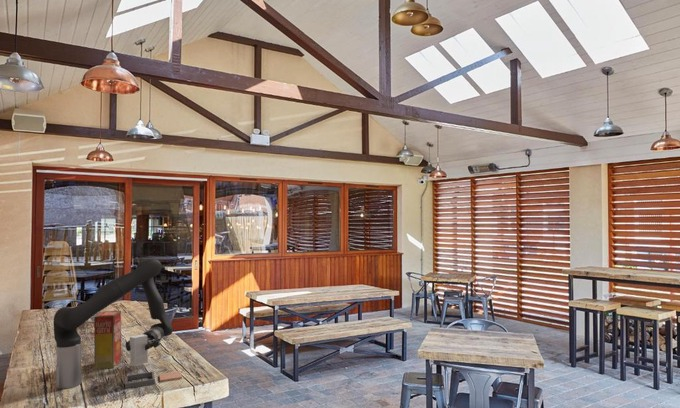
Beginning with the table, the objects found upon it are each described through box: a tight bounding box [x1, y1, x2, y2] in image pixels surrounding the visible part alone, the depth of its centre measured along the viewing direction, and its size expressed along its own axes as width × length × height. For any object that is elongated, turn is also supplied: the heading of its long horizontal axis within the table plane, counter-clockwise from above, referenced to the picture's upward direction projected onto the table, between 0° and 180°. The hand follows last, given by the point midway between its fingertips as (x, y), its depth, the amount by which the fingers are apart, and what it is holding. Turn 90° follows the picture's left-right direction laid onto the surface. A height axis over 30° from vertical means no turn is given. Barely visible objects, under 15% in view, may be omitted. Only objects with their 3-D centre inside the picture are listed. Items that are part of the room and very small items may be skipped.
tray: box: [124, 371, 156, 389], centre depth 206 cm, size 12×12×2 cm
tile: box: [158, 370, 183, 383], centre depth 210 cm, size 9×9×1 cm
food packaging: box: [93, 310, 122, 370], centre depth 232 cm, size 13×9×25 cm
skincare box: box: [129, 333, 149, 367], centre depth 206 cm, size 6×4×12 cm
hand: (137, 348), depth 203 cm, fingers closed on skincare box, 7 cm apart
